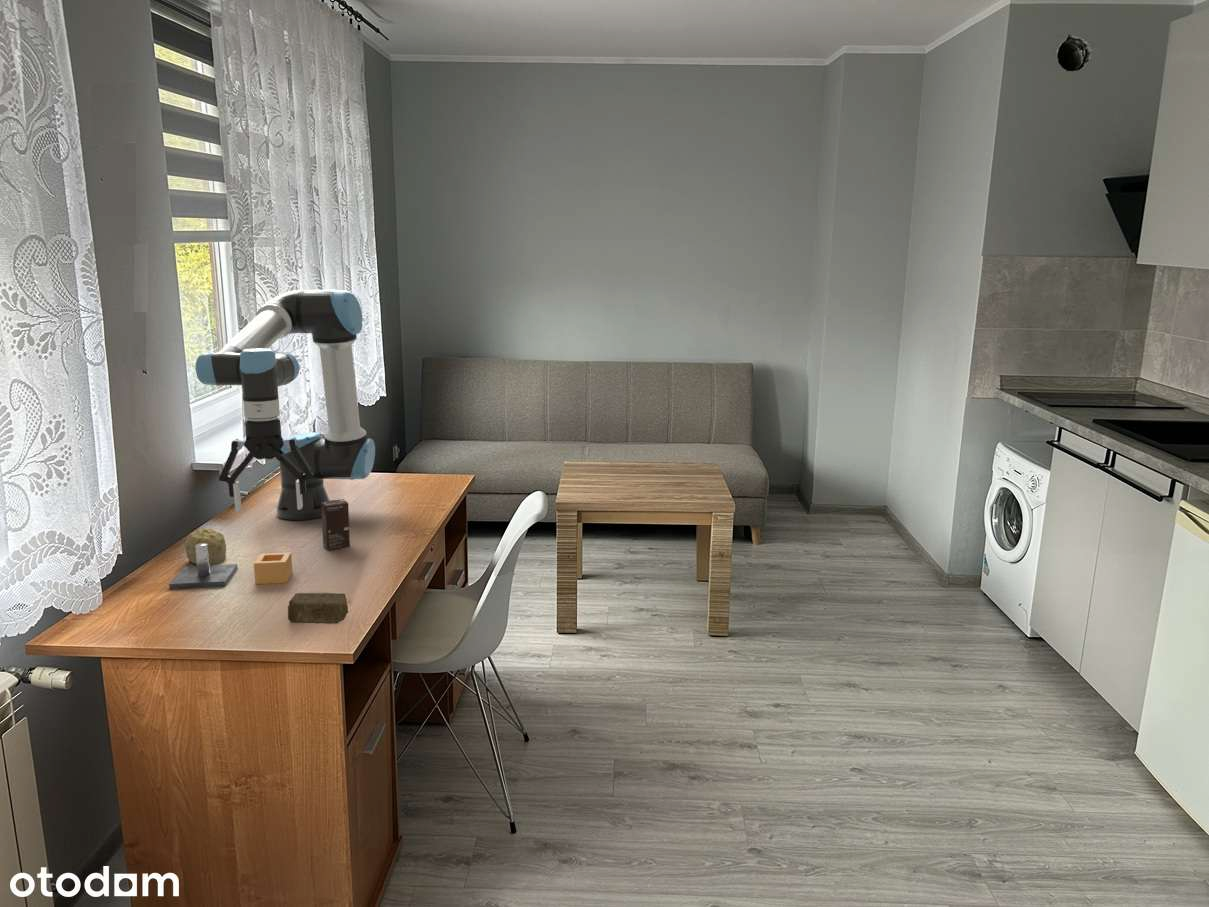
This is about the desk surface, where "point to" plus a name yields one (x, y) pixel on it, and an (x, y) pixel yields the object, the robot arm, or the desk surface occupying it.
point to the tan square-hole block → (273, 568)
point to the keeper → (203, 572)
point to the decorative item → (214, 545)
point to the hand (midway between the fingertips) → (269, 509)
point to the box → (335, 524)
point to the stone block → (317, 608)
